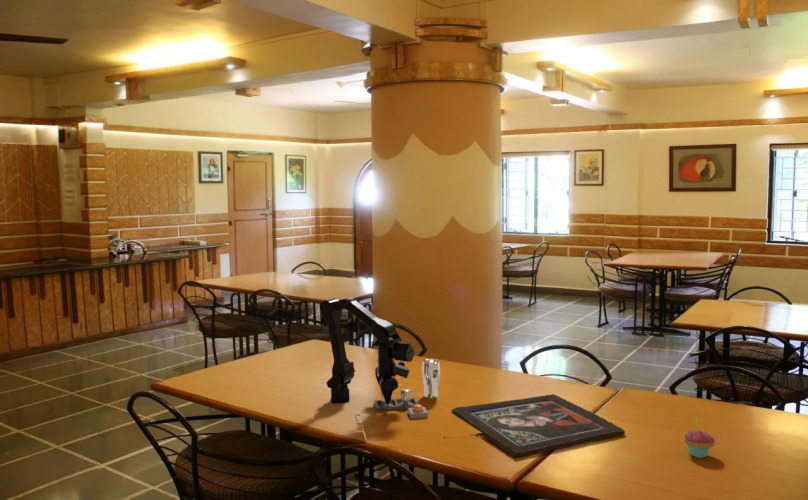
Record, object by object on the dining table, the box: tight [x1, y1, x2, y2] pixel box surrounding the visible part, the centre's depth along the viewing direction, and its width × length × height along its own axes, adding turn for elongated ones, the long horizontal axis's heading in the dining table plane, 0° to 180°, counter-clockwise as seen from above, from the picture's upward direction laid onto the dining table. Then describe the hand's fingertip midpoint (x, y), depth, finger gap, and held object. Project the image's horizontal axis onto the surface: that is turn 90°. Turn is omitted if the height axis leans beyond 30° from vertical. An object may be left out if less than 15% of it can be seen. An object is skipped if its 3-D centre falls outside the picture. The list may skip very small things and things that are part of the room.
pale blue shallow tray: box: [354, 413, 364, 425], centre depth 222 cm, size 11×9×1 cm
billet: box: [380, 390, 393, 407], centre depth 232 cm, size 4×4×6 cm
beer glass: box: [421, 358, 441, 399], centre depth 244 cm, size 7×7×15 cm
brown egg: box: [413, 403, 423, 412], centre depth 223 cm, size 3×3×4 cm
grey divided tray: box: [373, 397, 419, 412], centre depth 233 cm, size 15×8×3 cm, turn 99°
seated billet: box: [400, 388, 412, 405], centre depth 233 cm, size 4×4×6 cm
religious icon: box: [451, 393, 626, 458], centre depth 217 cm, size 40×45×3 cm
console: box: [407, 406, 429, 420], centre depth 223 cm, size 6×6×3 cm
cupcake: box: [683, 413, 716, 459], centre depth 191 cm, size 9×8×12 cm
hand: (386, 400), depth 232 cm, fingers open, 9 cm apart
